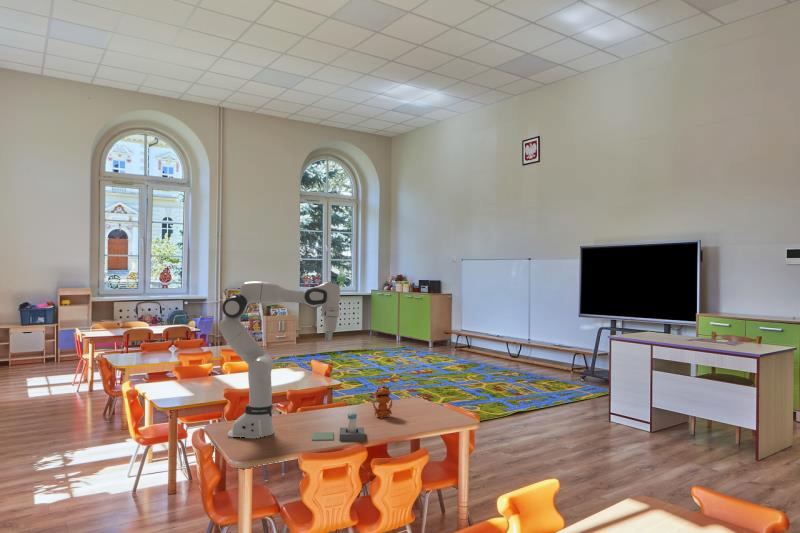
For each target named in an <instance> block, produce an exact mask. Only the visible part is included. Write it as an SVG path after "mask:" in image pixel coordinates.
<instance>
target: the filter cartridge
mask: <svg viewBox="0 0 800 533" xmlns="http://www.w3.org/2000/svg"><path fill="white" fill-rule="evenodd" d="M357 418H358V415H357V413H353V412H350V413H348V414H347V428H348V433H356V427H357Z"/></svg>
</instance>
